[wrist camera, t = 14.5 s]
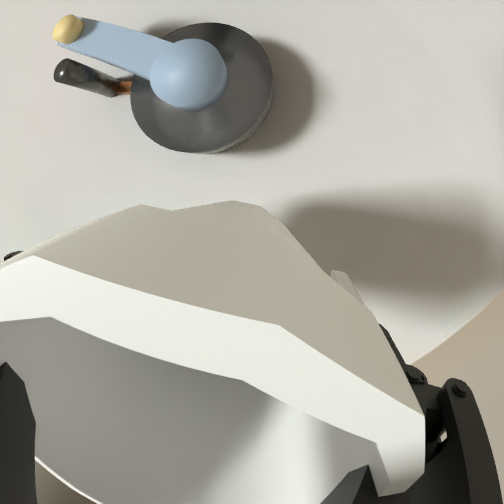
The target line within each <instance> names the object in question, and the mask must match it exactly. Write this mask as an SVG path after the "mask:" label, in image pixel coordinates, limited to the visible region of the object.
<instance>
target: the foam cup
mask: <svg viewBox="0 0 504 504" xmlns="http://www.w3.org/2000/svg"><path fill="white" fill-rule="evenodd" d="M4 362H7V363H8V364H9V365H10V367H11V368H12V369H13V370H14V371H15V372H16V373H17V375H18V376H19V377H20V378H21V379H22V380H23V381H24V383H25V387H26V391H27V395H28V398H29V402H30V405H31V409H32V412H33V415H34V418H35V421H36V431H35V460H36V461H37V462H38V463H40V464H41V465H42V466H43V467H45V468H46V469H47V470H48V471H49V472H51V473H52V474H53V475H54V476H56V477H57V478H58V479H60V480H61V481H62V482H64V483H65V484H66V485H68V486H69V487H70V488H72V489H74V490H75V491H77V492H78V493H80V494H82V495H83V496H85V497H87V498H89V499H90V500H92V501H94V502H96V503H98V504H320V503H321V502H322V501H323V500H324V499H325V498H326V497H327V496H328V495H329V494H330V493H331V492H332V491H333V489H334V488H335V487H336V486H337V485H338V484H339V483H340V482H341V481H342V479H343V478H344V477H345V476H346V475H347V473H348V472H350V471H353V470H355V469H358V468H360V467H363V466H365V465H369V468H370V471H371V474H372V477H373V481H374V484H375V487H376V490H377V494H378V497H380V496H386V495H392V494H397V493H402V492H405V491H406V490H407V489H408V488H409V487H410V486H411V485H412V484H413V483H414V482H415V481H416V480H417V479H418V478H419V477H420V476H421V475H422V474H423V473H424V467H425V416H424V414H423V411H422V409H421V407H420V405H419V403H418V400H417V398H416V396H415V394H414V392H413V390H412V388H411V386H410V384H409V382H408V379H407V377H406V375H405V373H404V371H403V369H402V367H401V365H400V363H399V361H398V359H397V358H396V356H395V354H394V352H393V350H392V348H391V346H390V344H389V342H388V340H387V338H386V337H385V335H384V333H383V331H382V329H381V327H380V326H379V324H378V322H377V320H376V318H375V317H374V315H373V313H372V311H371V310H369V309H368V308H367V307H366V306H365V305H363V304H362V303H361V302H360V301H359V300H357V299H356V298H355V297H354V296H353V295H351V294H350V293H349V292H348V291H347V290H345V289H344V288H343V287H342V286H341V285H339V284H338V283H337V282H336V281H335V280H333V279H332V278H331V277H330V276H328V275H327V274H326V273H325V272H324V271H323V270H322V269H321V267H320V266H319V265H318V264H317V263H316V261H315V260H314V259H313V258H312V257H311V256H310V254H309V253H308V252H307V251H306V250H305V249H304V247H303V246H302V245H301V244H300V243H299V242H298V241H297V239H296V238H295V237H294V236H293V235H292V234H291V233H290V231H289V230H288V229H287V228H286V227H285V226H284V225H283V224H282V223H281V222H280V221H279V220H277V219H276V218H275V217H274V216H272V215H271V214H270V213H268V212H267V211H266V210H265V209H263V208H262V207H261V206H257V205H252V204H248V203H243V202H238V201H227V202H220V203H214V204H208V205H203V206H197V207H191V208H186V209H180V210H175V211H170V210H166V209H161V208H156V207H151V206H146V205H138V206H135V207H132V208H129V209H126V210H123V211H120V212H117V213H114V214H111V215H108V216H105V217H103V218H100V219H97V220H94V221H92V222H89V223H86V224H84V225H81V226H78V227H76V228H73V229H70V230H68V231H65V232H63V233H60V234H58V235H55V236H53V237H51V238H49V239H47V240H45V241H43V242H41V243H39V244H37V245H35V246H33V247H31V248H29V249H27V250H25V251H23V252H21V253H19V254H17V255H15V256H13V257H11V258H9V259H8V260H6V261H4V262H2V263H0V366H1V365H2V364H3V363H4Z"/></svg>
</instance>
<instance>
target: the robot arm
mask: <svg viewBox="0 0 504 504" xmlns="http://www.w3.org/2000/svg"><path fill="white" fill-rule="evenodd" d="M21 252H23V251H17V252H12V253H10V254H8V255H6V256H5V257H4V261H6V260H8V259H9V258H11V257H13V256H15V255H17V254H19V253H21ZM330 277H331V278H332V279H333V280H335V281H336V282H337V283H338V284H339V285H341V286H342V287H343V288H344V289H345V290H347V291H348V292H349V293H350V294H351V295H353V296H354V297H355V298H356V299H357V300H359V301H360V302H361V303H362V304H363V305H364V303H363V301H362V299H361V298H360V296H359V294H358V292H357V291H356V289H355V287H354V285H353V284H352V282H351V280H350V278H349V277H348V275H347V273H346V272H342V271H338V270H333V269H332V271H331V274H330ZM379 326H380V327H381V329H382V331H383V333H384V335H385V337H386V338H387V340H388V342H389V344H390V346H391V348H392V350H393V352H394V354H395V356H396V358H397V359H398V361H399V363H400V365H401V367H402V369H403V371H404V373H405V375H406V377H407V379H408V382H409V384H410V386H411V388H412V390H413V392H414V394H415V396H416V398H417V400H418V403H419V405H420V407H421V409H422V411H423V414H424V416H425V467H424V473H423V474H422V475H421V476H420V477H419V478H418V479H417V480H416V481H415V482H414V483H413V484H412V485H411V486H410V487H409V488H408V489H407V490H406V491H405V492H402V493H397V494H392V495H386V496H380V497H378V494H377V490H376V487H375V484H374V481H373V477H372V474H371V471H370V468H369V465H365V466H363V467H360V468H358V469H355V470H353V471H350V472H348V473H347V475H346V476H345V477H344V478H343V479H342V481H341V482H340V483H339V484H338V485H337V486H336V487H335V488H334V489H333V491H332V492H331V493H330V494H329V495H328V496H327V497H326V498H325V499H324V500H323V501H322V502H321V503H320V504H503V502H502V496H501V489H500V484H499V479H498V474H497V470H496V465H495V461H494V457H493V453H492V450H491V446H490V443H489V439H488V436H487V433H486V429H485V426H484V423H483V420H482V417H481V414H480V412H479V409H478V406H477V404H476V401H475V398H474V396H473V393H472V391H471V390H470V388H469V387H468V386H467V384H466V383H465V382H463V381H462V380H458V379H455V378H450V379H448V380H447V381H446V382H445V384H444V385H443V387H442V388H440V387H436V386H433V385H429V384H428V382H427V378H426V377H425V375H424V374H423V373H422V372H421V371H420V370H419V369H417V368H415V367H414V366H411V365H407V364H405V362H404V360H403V358H402V356H401V354H400V352H399V351H398V349H397V347H395V343H394V342H393V340H392V338H391V336H390V334H389V333H388V331H387V330H386V329H385V328H384V327H383V326H382V325H381V324H379ZM35 431H36V421H35V418H34V415H33V412H32V409H31V405H30V402H29V398H28V395H27V391H26V387H25V383H24V381H23V380H22V379H21V378H20V377H19V376H18V375H17V373H16V372H15V371H14V370H13V369H12V368H11V367H10V365H9V364H8V363H7V362H4V363H3V364H2V365H1V366H0V504H37V498H36V486H35ZM445 431H446V433H447V438H446V439H445V440H444V441H443V442H441V438H440V436H441V435H442V434H443V433H444V432H445Z"/></svg>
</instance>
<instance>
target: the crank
mask: <svg viewBox="0 0 504 504" xmlns="http://www.w3.org/2000/svg"><path fill="white" fill-rule="evenodd" d="M52 36H53V39H54V40H56V41H59V42H58V44H57V45H59V46H61V47H64V48H66V49H68V50H71V51H73V52H76V53H79V54H82V55H85V56H88V57H91V58H94V59H97V60H100V61H102V62H105V63H108V64H110V65H113V66H116V67H118V68H121V69H123V70H126V71H128V72H131V73H133V74H135V75H138V76H140V77H142V78H145V79H147V80H149V81H150V84H151V87H152V89H153V91H154V93H155V94H156V95H157V96H158V97H159V98H160V99H162V100H163V101H165V102H167V103H169V104H171V105H172V106H174V107H176V108H178V109H180V110H184V111H200V110H203V109H206V108H208V107H210V106H212V105H213V104H215V103H216V102H217V101H218V100H219V99H220V98H221V97H222V96H223V94H224V93H225V91H226V89H227V86H228V82H229V73H228V70H227V67H226V65H225V63H224V61H223V59H222V57H221V55H220V53H219V51H218V50H217V49H216V48H215V47H214V46H213V45H212V44H210V43H209V42H207V41H204V40H200V39H184V40H180V41H177V42H175V43H171V42H169V41H166V40H163V39H160V38H157V37H154V36H151V35H148V34H145V33H142V32H138V31H135V30H132V29H128V28H125V27H121V26H117V25H113V24H109V23H105V22H101V21H96V20H91V19H86V18H81V17H75V16H74V15H67V16H65V17H64V18H62V19H61V20H60V21H59V22H58V23H57V25H56V26H55V28H54V30H53V34H52Z"/></svg>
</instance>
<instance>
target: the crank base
mask: <svg viewBox="0 0 504 504" xmlns="http://www.w3.org/2000/svg"><path fill="white" fill-rule="evenodd" d="M162 39H163V40H166V41H169V42H171V43H175V42H177V41H180V40H184V39H200V40H204V41H207V42H209V43H210V44H212V45H213V46H214V47H215V48H216V49H217V50H218V51H219V53H220V55H221V57H222V59H223V61H224V63H225V65H226V67H227V70H228V73H229V82H228V86H227V89H226V91H225V93H224V94H223V96H222V97H221V98H220V99H219V100H218V101H217V102H216V103H215V104H213V105H212V106H210V107H208V108H206V109H203V110H200V111H184V110H180V109H178V108H176V107H174V106H172V105H171V104H169V103H167V102H165V101H163V100H162V99H160V98H159V97H158V96H157V95H156V94H155V93H154V91H153V89H152V87H151V84H150V81H149V80H147V79H145V78H142V77H140V76H138V75H135V74H134V76H133V80H132V81H119V80H118V79H116V78H114V77H111V76H109V75H107V74H105V73H102V72H100V71H98V70H95V69H93V68H91V67H88V66H86V65H83V64H81V63H79V62H76V61H73V60H71V59H68V58H67V59H64V60H62V61H61V62H60V63H59V64H58V65H57V67H56V69H55V71H54V80H55V81H56V82H59V83H63V84H67V85H71V86H74V87H78V88H81V89H84V90H88V91H91V92H94V93H98V94H101V95H104V96H107V97H114V96H116V95H117V94H130V97H131V107H132V111H133V114H134V117H135V119H136V121H137V123H138V125H139V126H140V128H141V129H142V131H143V132H144V133H145V134H146V135H147V136H148V137H149V138H150V139H152V140H153V141H154V142H156V143H158V144H159V145H161V146H163V147H166V148H168V149H171V150H175V151H180V152H188V153H196V154H211V153H218V152H222V151H226V150H228V149H231V148H233V147H235V146H237V145H239V144H241V143H242V142H244V141H245V140H247V139H248V138H249V137H250V136H251V135H253V134H254V133H255V131H256V130H257V129H258V128H259V127H260V125H261V124H262V123H263V121H264V119H265V117H266V116H267V114H268V111H269V108H270V105H271V100H272V69H271V65H270V62H269V59H268V57H267V55H266V53H265V51H264V50H263V48H262V47H261V45H260V44H259V43H258V42H257V41H256V40H255V39H254V38H253V37H252V36H250V35H249V34H247V33H246V32H244V31H243V30H240V29H238V28H236V27H233V26H230V25H226V24H221V23H198V24H193V25H189V26H185V27H182V28H180V29H177V30H175V31H173V32H171V33H169V34H168V35H166V36H164V37H163V38H162Z"/></svg>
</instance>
